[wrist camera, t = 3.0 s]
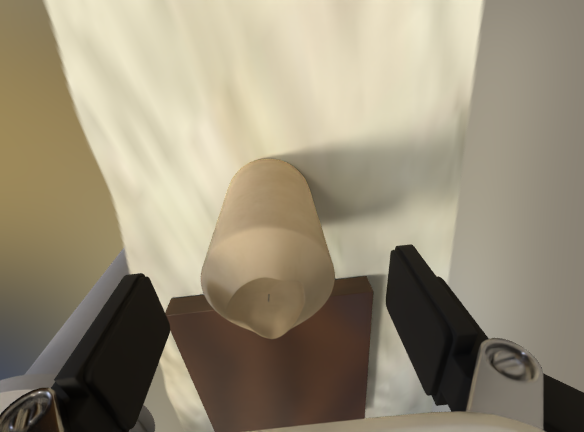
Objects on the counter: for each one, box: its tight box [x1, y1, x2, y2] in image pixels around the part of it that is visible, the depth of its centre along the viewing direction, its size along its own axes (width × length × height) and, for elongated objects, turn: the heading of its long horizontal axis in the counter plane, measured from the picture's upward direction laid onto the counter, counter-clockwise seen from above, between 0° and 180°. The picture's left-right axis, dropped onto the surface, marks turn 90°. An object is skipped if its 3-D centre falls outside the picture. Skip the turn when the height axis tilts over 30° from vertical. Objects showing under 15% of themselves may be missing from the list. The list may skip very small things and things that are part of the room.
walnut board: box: [165, 276, 373, 432], centre depth 27 cm, size 16×20×2 cm
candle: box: [201, 159, 335, 339], centre depth 15 cm, size 6×6×10 cm
